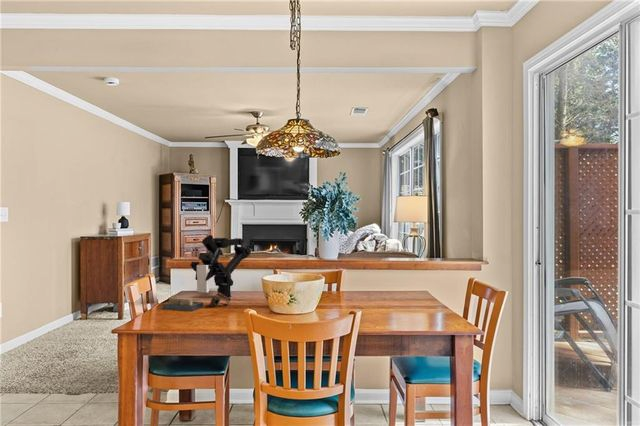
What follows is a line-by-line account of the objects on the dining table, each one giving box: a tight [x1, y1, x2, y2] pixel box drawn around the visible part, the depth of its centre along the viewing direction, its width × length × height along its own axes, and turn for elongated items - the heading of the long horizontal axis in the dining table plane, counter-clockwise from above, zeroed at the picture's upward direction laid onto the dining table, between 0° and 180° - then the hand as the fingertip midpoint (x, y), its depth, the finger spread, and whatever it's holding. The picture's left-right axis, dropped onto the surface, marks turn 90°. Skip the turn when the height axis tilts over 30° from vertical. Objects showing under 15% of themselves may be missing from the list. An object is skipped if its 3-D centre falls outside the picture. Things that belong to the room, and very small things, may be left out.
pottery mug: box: [209, 292, 231, 308], centre depth 234 cm, size 12×10×8 cm
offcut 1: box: [168, 297, 182, 304], centre depth 229 cm, size 2×6×5 cm, turn 68°
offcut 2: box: [180, 297, 193, 305], centre depth 227 cm, size 2×6×5 cm, turn 68°
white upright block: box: [196, 265, 210, 294], centre depth 245 cm, size 2×6×14 cm, turn 68°
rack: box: [162, 301, 205, 312], centre depth 230 cm, size 10×18×3 cm, turn 68°
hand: (201, 279), depth 243 cm, fingers closed on white upright block, 6 cm apart
